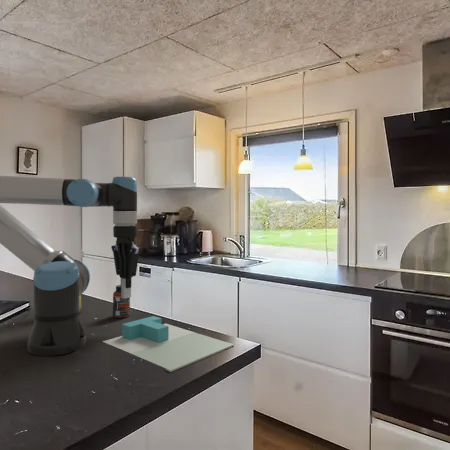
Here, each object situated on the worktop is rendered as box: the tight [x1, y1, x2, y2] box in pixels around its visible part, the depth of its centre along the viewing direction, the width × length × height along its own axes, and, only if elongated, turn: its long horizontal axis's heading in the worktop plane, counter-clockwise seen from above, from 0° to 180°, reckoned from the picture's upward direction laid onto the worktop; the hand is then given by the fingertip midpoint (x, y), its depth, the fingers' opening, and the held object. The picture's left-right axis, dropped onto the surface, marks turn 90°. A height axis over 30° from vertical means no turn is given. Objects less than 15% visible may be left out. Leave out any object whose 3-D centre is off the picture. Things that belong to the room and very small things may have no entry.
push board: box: [102, 323, 235, 373], centre depth 112 cm, size 24×30×1 cm
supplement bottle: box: [112, 284, 131, 319], centre depth 140 cm, size 6×6×11 cm
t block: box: [121, 315, 169, 343], centre depth 117 cm, size 12×12×4 cm
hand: (126, 297), depth 125 cm, fingers closed
